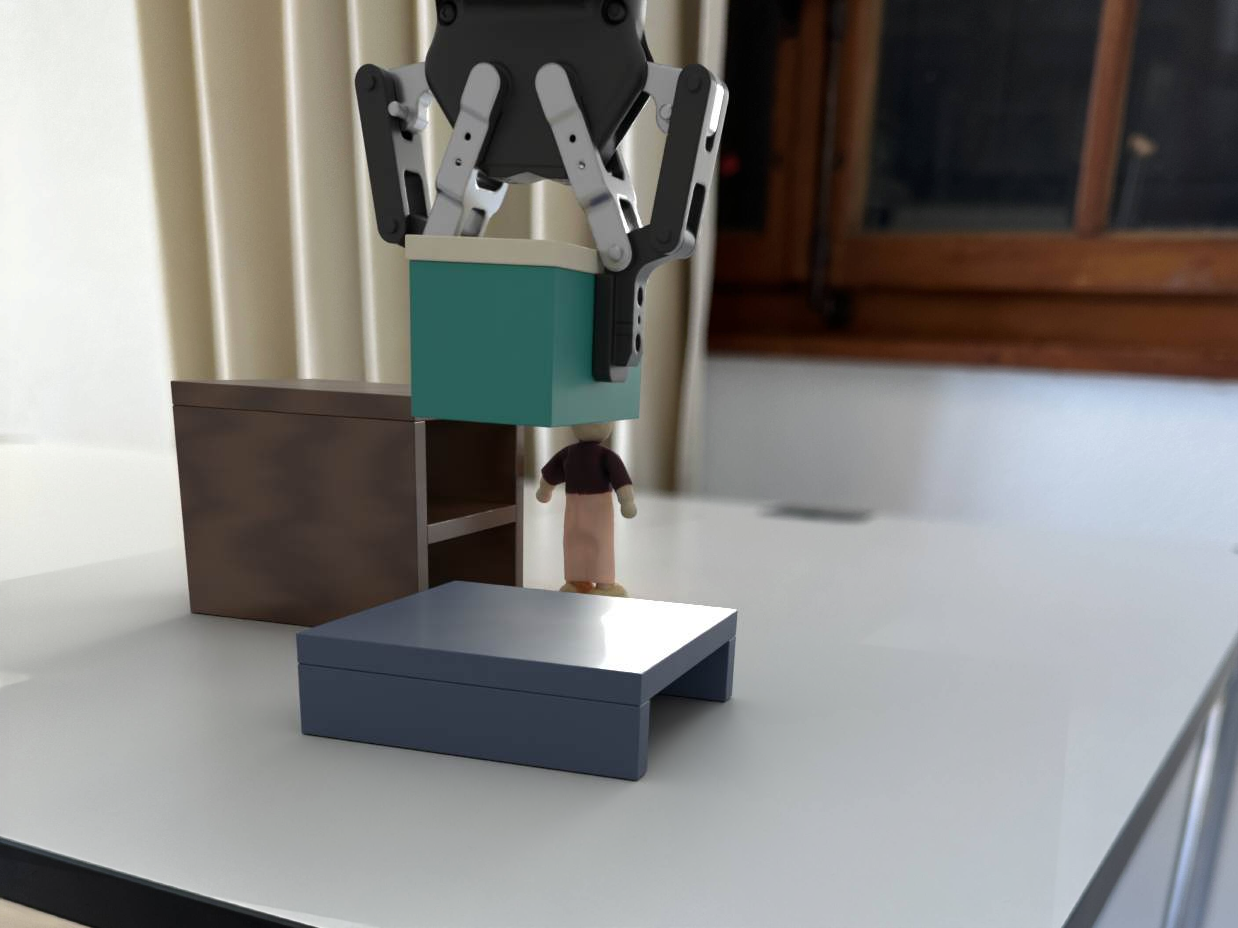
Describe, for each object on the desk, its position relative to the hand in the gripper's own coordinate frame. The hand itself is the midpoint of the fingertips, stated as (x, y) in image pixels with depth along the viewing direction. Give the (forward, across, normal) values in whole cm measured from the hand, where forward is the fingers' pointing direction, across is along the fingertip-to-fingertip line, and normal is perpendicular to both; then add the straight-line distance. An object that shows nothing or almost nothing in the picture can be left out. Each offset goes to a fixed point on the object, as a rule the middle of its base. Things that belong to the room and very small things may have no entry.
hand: (533, 375), depth 51 cm
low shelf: (+14, 0, 0) cm, 14 cm away
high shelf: (+14, +18, -18) cm, 29 cm away
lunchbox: (+2, 0, 0) cm, 2 cm away
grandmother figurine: (+14, +8, -28) cm, 32 cm away
